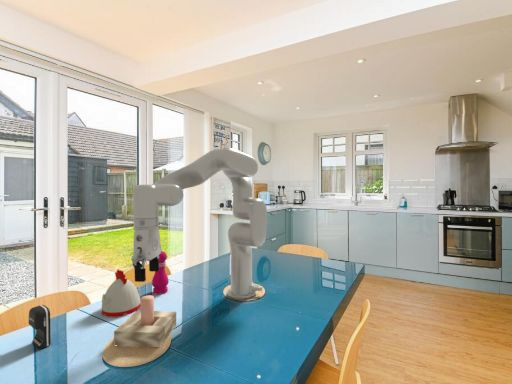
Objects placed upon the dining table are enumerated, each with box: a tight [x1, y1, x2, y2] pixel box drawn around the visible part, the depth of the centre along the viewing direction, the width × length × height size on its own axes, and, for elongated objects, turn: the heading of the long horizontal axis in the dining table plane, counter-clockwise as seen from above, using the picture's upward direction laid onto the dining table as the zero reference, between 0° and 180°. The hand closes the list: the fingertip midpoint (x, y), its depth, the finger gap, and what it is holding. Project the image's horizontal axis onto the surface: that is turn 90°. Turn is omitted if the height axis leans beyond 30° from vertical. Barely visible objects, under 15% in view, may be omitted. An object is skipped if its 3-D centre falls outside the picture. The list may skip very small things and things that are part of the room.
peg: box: [140, 295, 155, 326], centre depth 91 cm, size 4×4×12 cm
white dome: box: [101, 269, 141, 318], centre depth 110 cm, size 14×14×15 cm
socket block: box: [113, 310, 177, 348], centre depth 91 cm, size 14×14×4 cm
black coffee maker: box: [28, 304, 52, 349], centre depth 85 cm, size 7×4×11 cm, turn 54°
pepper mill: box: [151, 247, 169, 295], centre depth 128 cm, size 7×7×20 cm
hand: (147, 276), depth 91 cm, fingers open, 9 cm apart
